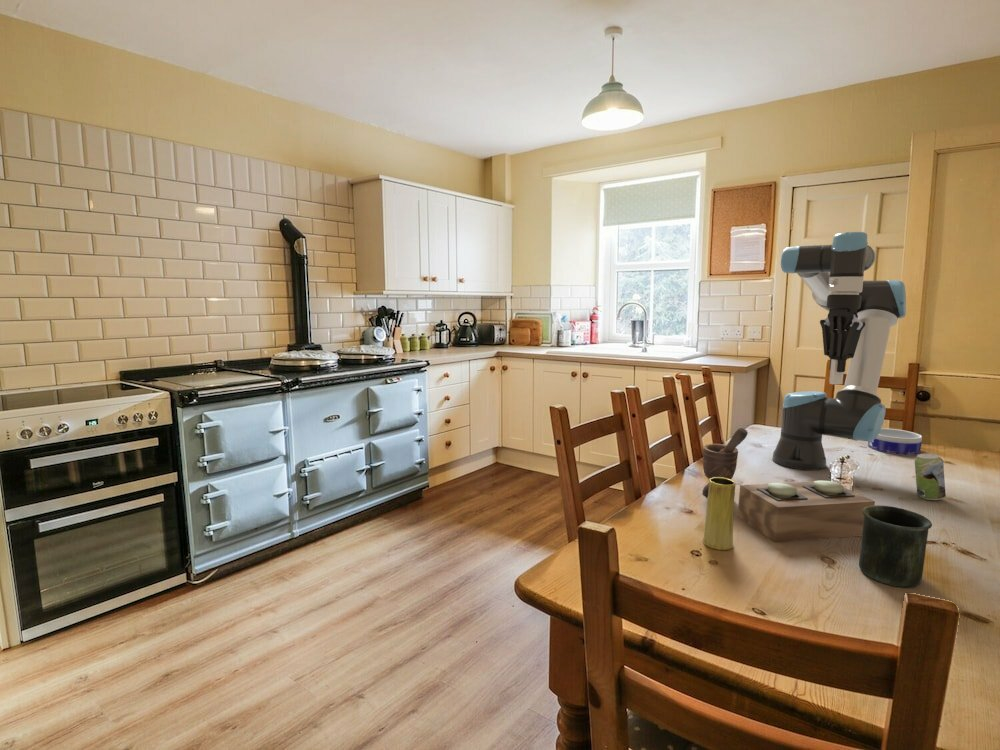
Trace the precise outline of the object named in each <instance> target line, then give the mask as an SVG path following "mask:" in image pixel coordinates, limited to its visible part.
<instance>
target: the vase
mask: <svg viewBox="0 0 1000 750" xmlns="http://www.w3.org/2000/svg"><path fill="white" fill-rule="evenodd" d="M708 483H709V486H708V496H707V501H706V511H705V512H706V514H705V523H704V533H703V539H702V543H703V544H704V545H705V546H706V547H708V548H711V549H713V550H717V551H729V550H731V549H733V547H734V539H733V538H734V534H733V533H734V509H735V496H736V495H735V494H736V482H735V481H734V480H733V479H728V478H723V477H713V478H710V479H708Z"/></svg>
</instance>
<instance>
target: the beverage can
mask: <svg viewBox="0 0 1000 750" xmlns="http://www.w3.org/2000/svg"><path fill="white" fill-rule="evenodd" d="M914 467H915V468H914V470H915V483H916V495H917V496H919V497H920V498H921V499H923V500H927V501H940V500H943V499H944V498H945V497H946V494H947V493H946V482H945V469H944V467H945V465H944V460H943V459H942V458H941V455H939V454H936V453H928V452H927V453H925V452H923V453H919V454H917V455H916V457H915V458H914Z"/></svg>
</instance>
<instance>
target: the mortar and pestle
mask: <svg viewBox="0 0 1000 750" xmlns="http://www.w3.org/2000/svg"><path fill="white" fill-rule="evenodd" d="M748 434H749V433H748V431H747V430H746V428H743V427H740V428H738V429H737V430H736V431H735V432H734V433H733V435H732V436H731V438H730V440H729V441H728V443H727V444H722V443H709V444H705V445H704V446H703V450H702V452H703V453H702V468H703V473H704V476H705V477H706V478H707V480H709V479H710V478H713V477H723V478H728V479H731V480H733V477H734V475H735V472H736V469H737V465H738V464H737V463H738V456H739V454H738V453H739V450H738V449H737V447H738V446H739V445H740V444H742V442H743V441H744V440H745V439H746V438H747V436H748ZM708 486H709V482H708V483H707V484H706V485H704V487H703V488H702V494H703V495H704V496H705V497H708Z"/></svg>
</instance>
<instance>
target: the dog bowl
mask: <svg viewBox="0 0 1000 750" xmlns="http://www.w3.org/2000/svg"><path fill="white" fill-rule="evenodd" d="M922 441H923V436H922V435H921V434H920V433H919V434H918V433H917V432H913V431H908V430H903V429H897V428H895V429H894V428H887V427H885V428H884V427H883V428H881V430H880V432H879V434H878V436H877V437H876V438H875V439H874V440H873V441H867V442H868V443H867V446H868V448H870V449H872V450H874V451H877V452H881V453H885V454H891V455H900V456H917V455H918V454H921V448H922V443H923V442H922Z"/></svg>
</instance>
